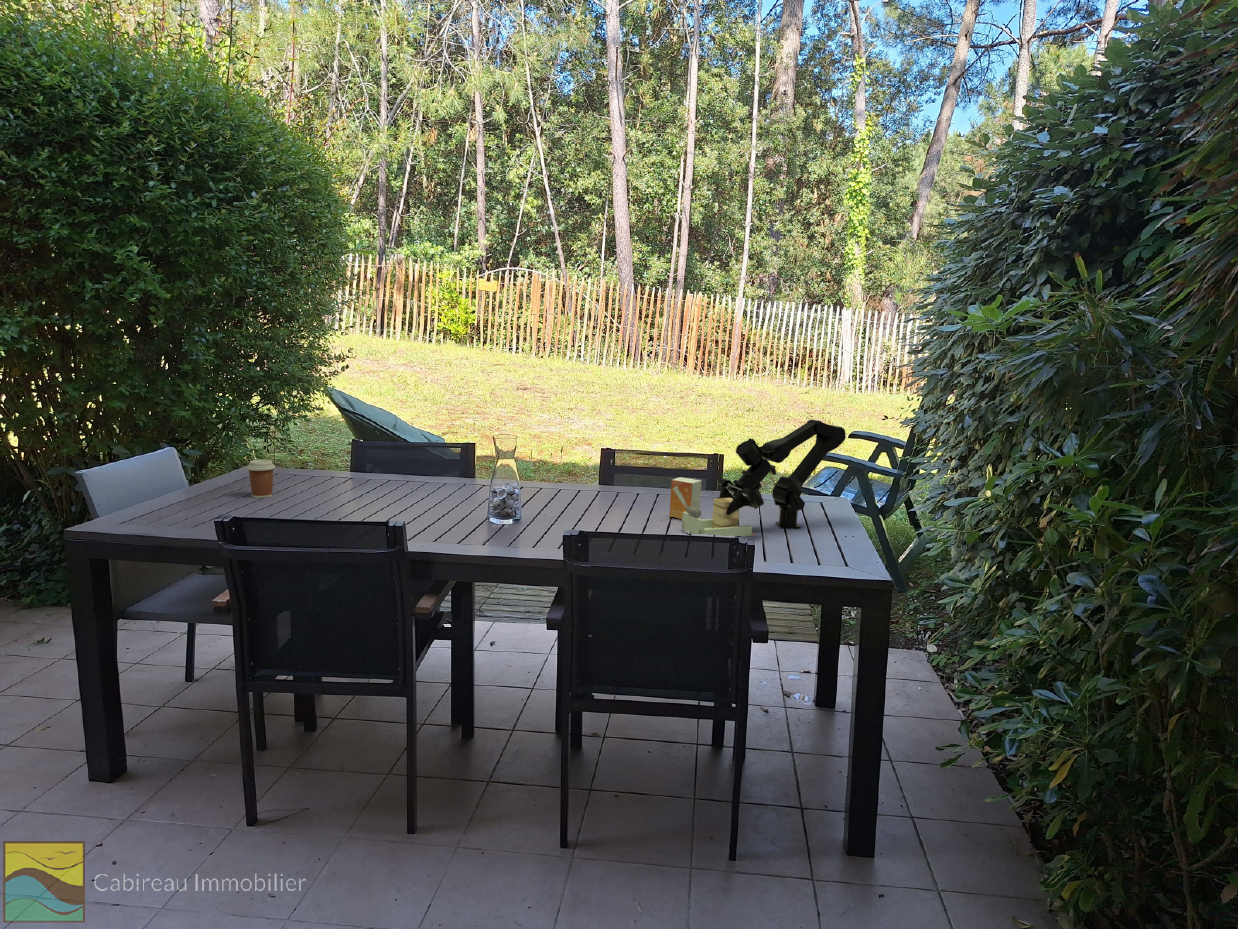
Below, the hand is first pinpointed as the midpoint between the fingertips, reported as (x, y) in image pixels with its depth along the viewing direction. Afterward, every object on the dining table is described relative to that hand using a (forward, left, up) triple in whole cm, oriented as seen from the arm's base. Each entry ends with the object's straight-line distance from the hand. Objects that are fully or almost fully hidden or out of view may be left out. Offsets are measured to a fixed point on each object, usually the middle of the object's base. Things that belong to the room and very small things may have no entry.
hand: (722, 512), depth 273 cm
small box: (-19, -8, -7) cm, 21 cm away
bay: (0, -2, -7) cm, 7 cm away
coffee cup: (-50, -148, -7) cm, 156 cm away
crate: (0, +1, -7) cm, 7 cm away
